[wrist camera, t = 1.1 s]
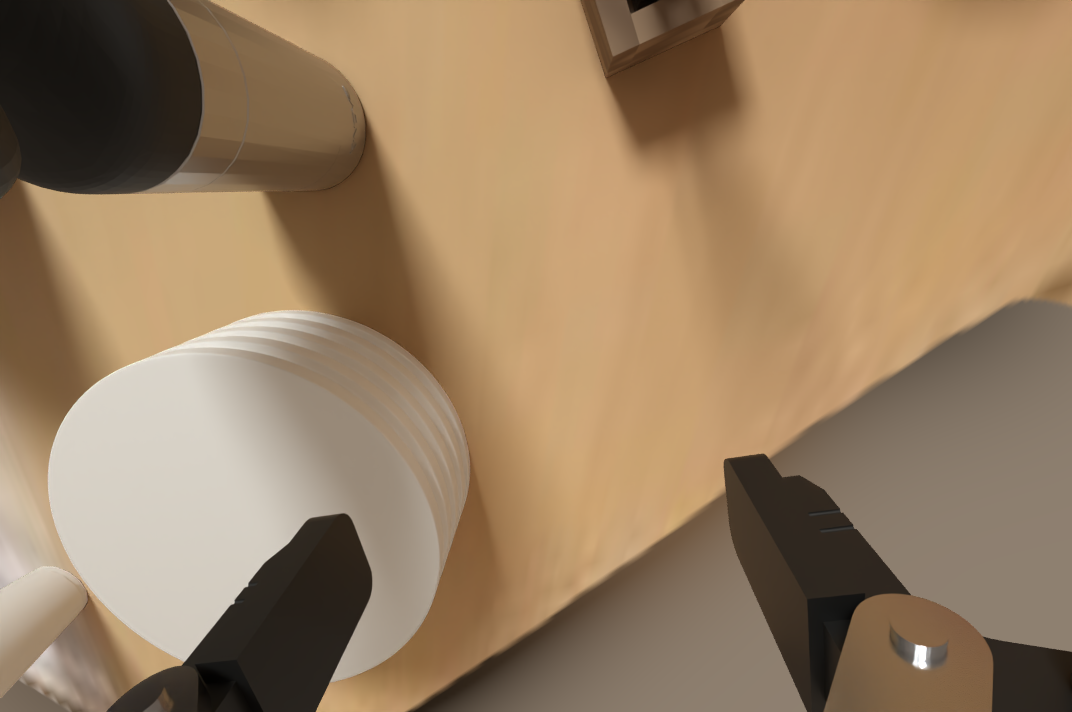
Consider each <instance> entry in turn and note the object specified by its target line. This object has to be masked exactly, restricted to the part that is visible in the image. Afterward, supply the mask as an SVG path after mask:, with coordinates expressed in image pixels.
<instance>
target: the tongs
mask: <svg viewBox="0 0 1072 712" xmlns="http://www.w3.org/2000/svg"><path fill="white" fill-rule="evenodd" d="M631 1H632V5H633V8H634V12H636V11H638V10H640V9H642V8H645V7H647V6H649V5H651V4H653V3H655V2H657V1H659V0H631Z"/></svg>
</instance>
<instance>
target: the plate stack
mask: <svg viewBox="0 0 1072 712" xmlns="http://www.w3.org/2000/svg"><path fill="white" fill-rule="evenodd" d="M469 482H470V456H469V449H468V444H467V440H466V436H465V432H464V429H463V426H462V423H461V421H460V418H459V416H458V414H457V412H456V410H455V408H454V406H453V404H452V402H451V400H450V399H449V397H448V395H447V394H446V392H445V391H444V389H443V388H442V387H441V385H440V384H439V383H438V381H437V380H436V379H435V378H434V376H433V375H432V374H431V373H430V372H429V371H428V370H427V369H426V368H425V367H424V366H423V365H422V364H421V363H420V362H419V361H418V360H417V359H416V358H415V357H414V356H413V355H411V354H410V353H409V352H408V351H407V350H405V349H404V348H403V347H401V346H400V345H398V344H397V343H396V342H394V341H393V340H391V339H389V338H388V337H386V336H384V335H383V334H381V333H379V332H377V331H375V330H373V329H371V328H369V327H367V326H365V325H362V324H360V323H357V322H355V321H352V320H349V319H346V318H343V317H339V316H335V315H331V314H327V313H321V312H314V311H303V310H283V311H273V312H267V313H261V314H257V315H253V316H250V317H247V318H244V319H241V320H239V321H236V322H234V323H231V324H229V325H227V326H224V327H221V328H219V329H216V330H214V331H212V332H209V333H207V334H205V335H202V336H199V337H197V338H194V339H192V340H189V341H187V342H185V343H182V344H180V345H178V346H175V347H172V348H170V349H167V350H165V351H162V352H160V353H158V354H155V355H153V356H151V357H148V358H145V359H143V360H140V361H138V362H135V363H133V364H130V365H128V366H126V367H123V368H121V369H119V370H117V371H115V372H113V373H111V374H110V375H108V376H106V377H105V378H103V379H102V380H100V381H99V382H97V383H96V384H95V385H93V386H92V387H91V388H90V389H89V390H87V391H86V392H85V393H84V394H83V395H82V396H81V397H80V398H79V399H78V400H77V402H76V403H75V404H74V405H73V406H72V408H71V409H70V410H69V412H68V413H67V415H66V417H65V418H64V420H63V422H62V424H61V425H60V427H59V430H58V432H57V434H56V437H55V440H54V443H53V446H52V450H51V454H50V460H49V468H48V493H49V501H50V507H51V512H52V516H53V520H54V523H55V526H56V529H57V532H58V535H59V537H60V540H61V542H62V544H63V546H64V548H65V551H66V553H67V554H68V556H69V558H70V560H71V562H72V563H73V565H74V567H75V568H76V570H77V571H78V573H79V574H80V576H81V577H82V579H83V580H84V582H85V583H86V584H87V586H88V587H89V588H90V589H91V591H92V592H93V593H94V594H95V595H96V596H97V598H98V599H99V600H100V601H101V602H102V603H103V604H104V605H105V606H106V607H107V608H108V609H109V610H110V611H111V612H112V613H113V614H114V615H115V616H116V617H117V618H118V619H119V620H121V621H122V622H123V623H124V624H125V625H126V626H128V627H129V628H130V629H132V630H133V631H134V632H135V633H137V634H138V635H139V636H141V637H142V638H144V639H145V640H147V641H148V642H150V643H151V644H153V645H154V646H156V647H158V648H159V649H161V650H163V651H164V652H166V653H168V654H170V655H172V656H174V657H176V658H177V659H179V660H182V661H184V662H185V661H186V660H187V658H188V657H189V656H190V655H191V653H192V652H193V651H194V650H195V648H196V647H197V646H198V645H199V643H200V642H201V641H202V640H203V638H204V637H205V636H206V635H207V634H208V632H209V631H210V630H211V629H212V627H213V626H214V625H215V624H216V622H217V621H218V620H219V619H220V617H221V616H222V615H223V614H224V612H225V611H226V610H227V609H228V607H229V606H230V605H232V604H234V603H235V601H234V600H235V599H236V598H237V596H238V595H239V594H240V593H241V591H242V590H243V589H244V588H245V587H248V583H249V581H250V580H251V579H252V578H253V576H254V575H255V574H256V573H257V571H258V570H259V569H260V568H261V566H262V565H263V564H264V563H265V562H266V561H267V560H269V559H270V558H271V557H272V556H274V555H275V554H276V553H277V552H278V551H280V550H281V549H282V548H283V547H285V546H286V545H287V544H288V543H289V542H290V541H291V540H292V538H293V537H294V536H295V535H296V533H297V532H298V531H299V529H300V528H301V527H302V526H303V524H304V523H305V522H306V521H307V520H308V519H309V518H312V517H319V516H326V515H334V514H341V513H345V514H347V515H349V516H350V518H351V519H352V521H353V523H354V526H355V529H356V531H357V534H358V536H359V539H360V542H361V544H362V547H363V550H364V552H365V555H366V557H367V560H368V563H369V565H370V568H371V572H372V592H371V596H370V599H369V602H368V604H367V606H366V608H365V610H364V612H363V614H362V616H361V618H360V620H359V622H358V625H357V627H356V629H355V631H354V633H353V635H352V637H351V639H350V641H349V643H348V645H347V647H346V649H345V651H344V654H343V656H342V658H341V660H340V662H339V664H338V666H337V668H336V670H335V672H334V674H333V676H332V678H331V680H330V682H335V681H339V680H343V679H346V678H349V677H352V676H355V675H358V674H360V673H363V672H365V671H367V670H369V669H371V668H373V667H375V666H377V665H379V664H380V663H382V662H384V661H385V660H387V659H388V658H390V657H391V656H392V655H394V654H395V653H396V652H397V651H399V650H400V649H401V648H402V647H403V646H404V645H405V644H406V643H407V642H408V641H409V640H410V639H411V638H412V636H413V635H414V634H415V633H416V631H417V630H418V629H419V627H420V626H421V624H422V623H423V621H424V619H425V618H426V616H427V614H428V612H429V610H430V607H431V605H432V602H433V600H434V597H435V594H436V591H437V587H438V584H439V581H440V578H441V575H442V572H443V569H444V566H445V563H446V560H447V556H448V553H449V551H450V548H451V545H452V542H453V538H454V535H455V532H456V530H457V526H458V523H459V520H460V517H461V514H462V511H463V508H464V505H465V502H466V498H467V494H468V489H469Z"/></svg>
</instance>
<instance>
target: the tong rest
mask: <svg viewBox="0 0 1072 712" xmlns="http://www.w3.org/2000/svg"><path fill="white" fill-rule="evenodd" d="M743 1H744V0H659V1H657V2H655V3H653V4H651V5H649V6H647V7H645V8H642V9H640V10H638V11H636V12H634V8H633V5H632V1H631V0H581V3H582V6H583V9H584V12H585V15H586V18H587V22H588V25H589V28H590V31H591V34H592V37H593V40H594V43H595V46H596V49H597V53H598V56H599V59H600V62H601V65H602V68H603V71H604V74H605V77H606V78H607V77H609V76H611V75H613V74H616V73H618V72H620V71H622V70H624V69H627V68H629V67H631V66H633V65H635V64H638V63H640V62H642V61H644V60H646V59H648V58H651V57H653V56H655V55H657V54H659V53H662V52H664V51H666V50H668V49H670V48H673V47H675V46H677V45H679V44H681V43H684V42H686V41H688V40H690V39H692V38H694V37H697V36H699V35H701V34H703V33H705V32H708V31H710V30H712V29H714V28H716V27H719V26H721V25H722V23H723V22H724V21H725V20H726V19H727V18H728V17H729V16H730V15H731V14H732V13H733V12H734V11H735V10H736V9H737V8H738V7H739V5H740V4H741V3H742V2H743Z"/></svg>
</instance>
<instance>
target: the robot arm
mask: <svg viewBox="0 0 1072 712" xmlns="http://www.w3.org/2000/svg"><path fill="white" fill-rule="evenodd" d="M365 139H366V124H365V119H364V113H363V109H362V106H361V104H360V101H359V99H358V96H357V94H356V92H355V91H354V89H353V88H352V86H351V84H350V83H349V81H348V80H347V79H346V78H345V77H344V76H343V75H342V74H341V72H340V71H339V70H337V69H336V68H335V67H333V66H332V65H331V64H329V63H328V62H327V61H325V60H323V59H321V58H319V57H317V56H315V55H313V54H311V53H309V52H307V51H305V50H303V49H302V48H300V47H298V46H296V45H294V44H293V43H291V42H289V41H287V40H285V39H283V38H281V37H279V36H277V35H275V34H273V33H271V32H269V31H267V30H266V29H264V28H262V27H260V26H258V25H256V24H254V23H252V22H250V21H248V20H246V19H244V18H242V17H240V16H239V15H237V14H235V13H233V12H231V11H229V10H227V9H225V8H223V7H221V6H219V5H217V4H215V3H213V2H211V1H210V0H0V199H1V198H2V197H3V196H4V195H5V194H6V193H7V192H8V191H9V190H10V189H11V188H12V186H13V184H14V182H15V181H16V179H17V178H18V179H21V180H23V181H26V182H28V183H31V184H34V185H37V186H40V187H43V188H47V189H51V190H55V191H60V192H67V193H75V194H147V193H187V192H251V191H316V190H323V189H327V188H331V187H333V186H335V185H337V184H339V183H341V182H342V181H343V180H345V179H346V178H347V177H348V176H349V175H350V174H351V173H352V172H353V170H354V169H355V167H356V166H357V165H358V163H359V160H360V158H361V156H362V153H363V149H364V144H365ZM724 476H725V486H726V497H727V507H728V516H729V526H730V531H731V536H732V540H733V544H734V547H735V550H736V553H737V556H738V558H739V560H740V563H741V565H742V567H743V569H744V572H745V574H746V576H747V578H748V581H749V583H750V585H751V587H752V590H753V592H754V594H755V596H756V598H757V601H758V603H759V605H760V607H761V609H762V612H763V614H764V616H765V619H766V621H767V623H768V625H769V627H770V630H771V632H772V634H773V636H774V639H775V641H776V643H777V645H778V648H779V650H780V652H781V654H782V657H783V659H784V661H785V663H786V665H787V667H788V670H789V672H790V674H791V677H792V679H793V681H794V683H795V686H796V688H797V690H798V692H799V694H800V697H801V699H802V701H803V703H804V705H805V708H806V710H807V712H1072V652H1069V651H1062V650H1056V649H1049V648H1043V647H1037V646H1030V645H1024V644H1018V643H1012V642H1005V641H999V640H995V639H990V638H986V637H983V636H982V635H981V634H980V633H979V632H978V631H977V630H976V629H975V628H974V627H973V626H972V625H971V624H970V623H969V622H968V621H966V620H965V619H963V618H962V617H961V616H959V615H958V614H956V613H955V612H953V611H951V610H949V609H948V608H946V607H944V606H941V605H939V604H937V603H935V602H932V601H929V600H927V599H923V598H920V597H916V596H912V595H911V594H910V593H909V592H908V591H907V590H906V588H905V587H904V586H903V585H902V583H901V582H900V581H899V580H898V579H897V577H896V576H895V575H894V574H893V573H892V571H891V570H890V569H889V568H888V567H887V565H886V564H885V563H884V562H883V561H882V559H881V558H880V557H879V556H878V554H877V553H876V552H875V551H874V550H873V548H872V547H871V546H870V545H869V544H868V542H867V541H866V540H865V539H864V538H863V536H862V535H861V534H860V533H859V531H858V530H857V529H854V527H853V524H852V523H851V522H850V521H849V519H848V518H847V517H846V516H845V515H844V513H841V512H840V508H839V507H838V506H837V505H836V504H835V502H834V501H833V500H832V499H831V498H830V496H829V495H828V494H827V493H826V492H825V490H824V489H822V488H820V487H818V486H817V485H815V484H813V483H812V482H810V481H808V480H807V479H805V478H803V477H801V476H791V477H783V478H782V477H781V475H780V474H779V472H778V471H777V470H776V468H775V467H774V466H773V464H772V463H771V461H770V460H769V459H768V457H767V456H766V455H765V454H757V455H749V456H742V457H735V458H728V459H725V460H724ZM371 592H372V572H371V568H370V565H369V563H368V560H367V557H366V555H365V552H364V550H363V547H362V544H361V542H360V539H359V536H358V534H357V531H356V529H355V526H354V523H353V521H352V519H351V518H350V516H349V515H347V514H345V513H341V514H334V515H326V516H319V517H312V518H309V519H308V520H307V521H306V522H305V523H304V524H303V526H302V527H301V528H300V529H299V531H298V532H297V533H296V535H295V536H294V537H293V538H292V540H291V541H290V542H289V543H288V544H287V545H286V546H285V547H283V548H282V549H281V550H280V551H278V552H277V553H276V554H275V555H274V556H272V557H271V558H270V559H269V560H267V561H266V562H265V563H264V564H263V565H262V566H261V568H260V569H259V570H258V571H257V573H256V574H255V575H254V576H253V578H252V579H251V580H250V581H249V583H248V587H245V588H244V589H243V590H242V591H241V593H240V594H239V595H238V596H237V598H236V599H235V600H234V601H235V603H234V604H232V605H230V606H229V607H228V609H227V610H226V611H225V612H224V614H223V615H222V616H221V617H220V619H219V620H218V621H217V622H216V624H215V625H214V626H213V627H212V629H211V630H210V631H209V632H208V634H207V635H206V636H205V637H204V638H203V640H202V641H201V642H200V643H199V645H198V646H197V647H196V648H195V650H194V651H193V652H192V653H191V655H190V656H189V657H188V658H187V660H186V661H185V662H184V663H183V665H182V666H176V667H172V668H168V669H166V670H163V671H161V672H158V673H156V674H154V675H152V676H150V677H149V678H147V679H145V680H143V681H142V682H140V683H139V684H137V685H136V686H134V687H133V688H132V689H130V690H129V691H128V692H127V693H125V694H124V695H123V696H122V697H121V698H120V699H118V700H117V701H116V702H115V703H114V704H113V705H112V706H111V707H110V708H109V709H108V711H107V712H316V710H317V707H318V705H319V703H320V701H321V699H322V697H323V695H324V693H325V691H326V689H327V687H328V685H329V683H330V680H331V678H332V676H333V674H334V672H335V670H336V668H337V666H338V664H339V662H340V660H341V658H342V656H343V654H344V651H345V649H346V647H347V645H348V643H349V641H350V639H351V637H352V635H353V633H354V631H355V629H356V627H357V625H358V622H359V620H360V618H361V616H362V614H363V612H364V610H365V608H366V606H367V604H368V602H369V599H370V596H371Z"/></svg>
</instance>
